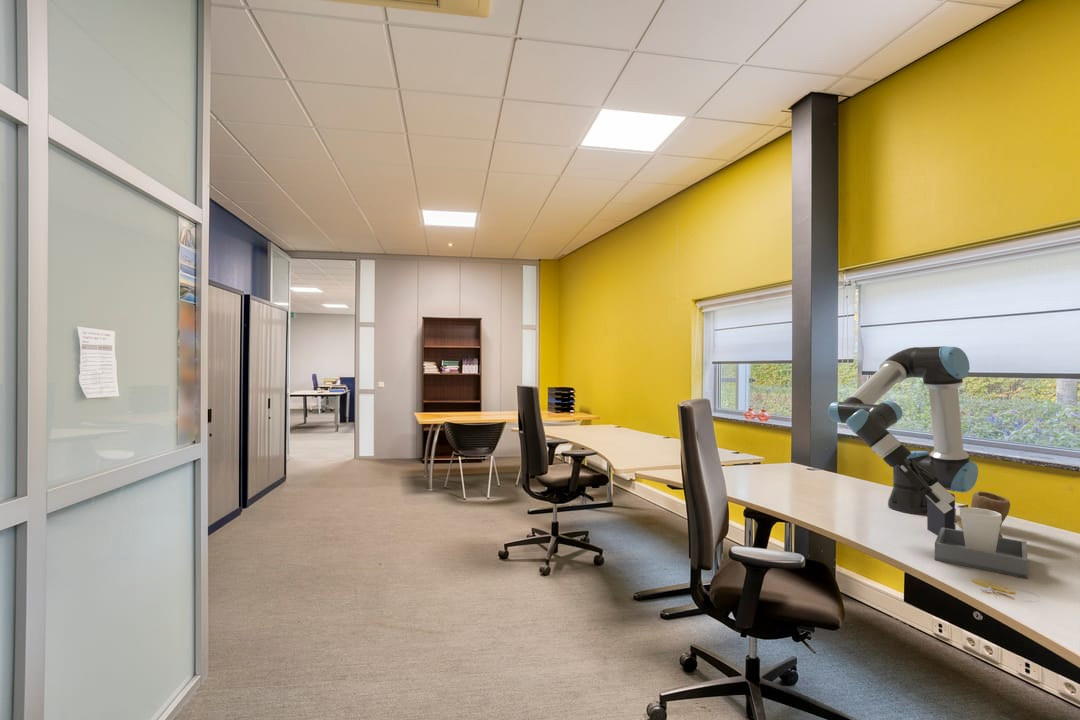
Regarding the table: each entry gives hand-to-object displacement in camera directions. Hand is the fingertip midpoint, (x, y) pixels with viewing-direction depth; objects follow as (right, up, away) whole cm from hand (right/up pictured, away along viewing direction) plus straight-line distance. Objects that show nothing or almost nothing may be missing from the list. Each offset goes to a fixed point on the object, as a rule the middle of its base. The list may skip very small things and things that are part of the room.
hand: (950, 506), depth 159 cm
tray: (+5, -14, -4) cm, 16 cm away
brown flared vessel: (+24, -15, +15) cm, 32 cm away
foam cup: (+5, -14, -4) cm, 15 cm away
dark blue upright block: (+11, -15, +18) cm, 25 cm away
